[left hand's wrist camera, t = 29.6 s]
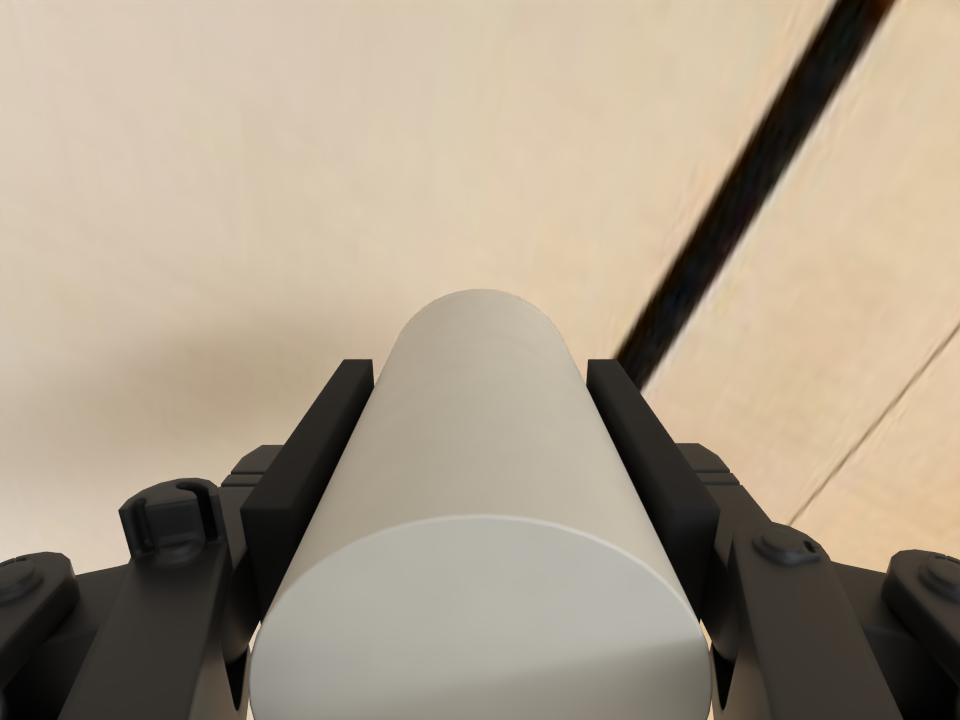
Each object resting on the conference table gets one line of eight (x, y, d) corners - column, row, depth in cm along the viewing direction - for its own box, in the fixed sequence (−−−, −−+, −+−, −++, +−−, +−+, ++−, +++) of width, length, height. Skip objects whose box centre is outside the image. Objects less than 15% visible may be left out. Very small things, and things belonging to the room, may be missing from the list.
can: (501, 249, 15) (543, 417, 5) (605, 396, 17) (793, 744, 7) (351, 359, 16) (146, 671, 6) (462, 487, 18) (439, 898, 8)
